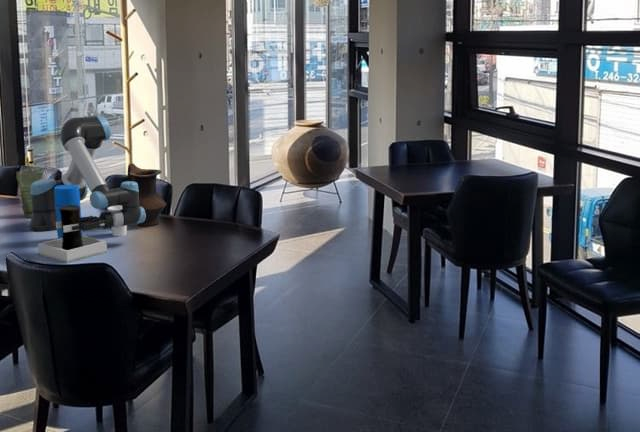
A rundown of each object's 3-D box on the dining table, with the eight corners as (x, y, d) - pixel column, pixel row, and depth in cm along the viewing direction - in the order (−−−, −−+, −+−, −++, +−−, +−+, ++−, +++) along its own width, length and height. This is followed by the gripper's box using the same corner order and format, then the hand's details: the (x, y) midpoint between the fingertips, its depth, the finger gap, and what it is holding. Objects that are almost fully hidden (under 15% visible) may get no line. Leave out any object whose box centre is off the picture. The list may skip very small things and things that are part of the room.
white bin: (39, 254, 318) (38, 243, 317) (78, 244, 333) (77, 234, 332) (67, 263, 306) (66, 251, 305) (106, 252, 322) (106, 241, 321)
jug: (175, 222, 374) (172, 164, 367) (148, 230, 359) (145, 169, 352) (145, 217, 385) (142, 160, 378) (118, 224, 370) (114, 165, 363)
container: (74, 244, 325) (71, 204, 321) (88, 247, 320) (85, 206, 316) (57, 248, 318) (53, 207, 314) (70, 252, 313) (67, 210, 309)
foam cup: (123, 237, 346) (122, 210, 343) (105, 236, 348) (103, 209, 345) (132, 232, 355) (131, 206, 352) (115, 231, 357) (113, 205, 354)
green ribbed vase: (18, 218, 383) (13, 170, 377) (30, 212, 394) (26, 166, 389) (38, 218, 381) (33, 171, 375) (50, 213, 393) (46, 167, 387)
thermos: (87, 238, 345) (83, 185, 339) (73, 243, 335) (68, 189, 329) (68, 236, 348) (64, 183, 342) (53, 241, 338) (48, 188, 333)
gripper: (121, 232, 321) (69, 240, 307) (102, 223, 337) (52, 231, 323) (120, 215, 319) (68, 223, 305) (101, 207, 335) (50, 214, 321)
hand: (59, 227), depth 314 cm, fingers closed on container, 8 cm apart
